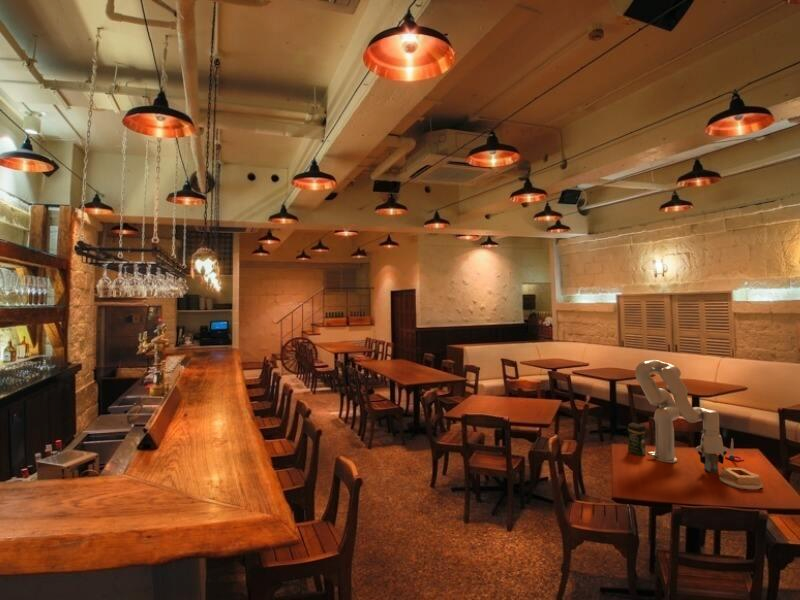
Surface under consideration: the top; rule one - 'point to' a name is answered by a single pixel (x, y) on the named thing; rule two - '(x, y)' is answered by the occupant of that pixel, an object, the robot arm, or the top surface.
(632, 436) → the coffee jar
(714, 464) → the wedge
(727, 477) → the beige piece
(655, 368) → the robot arm
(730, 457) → the tow hook
